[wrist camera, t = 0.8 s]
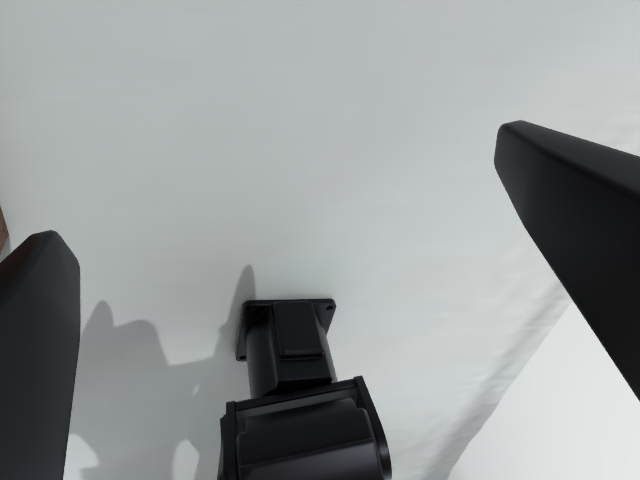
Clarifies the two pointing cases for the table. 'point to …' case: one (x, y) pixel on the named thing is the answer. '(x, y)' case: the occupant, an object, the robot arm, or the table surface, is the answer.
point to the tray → (2, 231)
